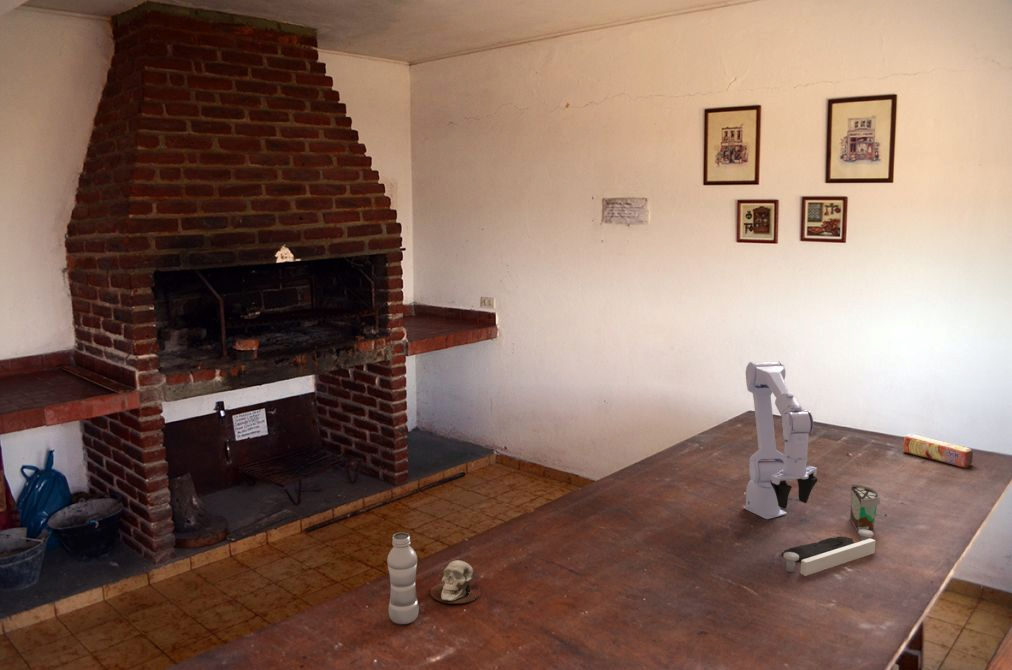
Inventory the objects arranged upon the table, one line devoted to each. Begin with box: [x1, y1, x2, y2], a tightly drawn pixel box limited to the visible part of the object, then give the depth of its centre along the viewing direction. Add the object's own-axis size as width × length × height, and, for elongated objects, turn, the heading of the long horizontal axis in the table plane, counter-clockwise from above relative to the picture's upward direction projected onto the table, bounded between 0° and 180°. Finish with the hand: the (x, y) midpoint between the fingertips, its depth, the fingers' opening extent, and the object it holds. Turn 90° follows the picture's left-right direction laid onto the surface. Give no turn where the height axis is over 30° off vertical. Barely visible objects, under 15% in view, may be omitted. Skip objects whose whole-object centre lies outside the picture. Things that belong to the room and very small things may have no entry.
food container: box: [849, 483, 881, 533], centre depth 218 cm, size 12×6×10 cm, turn 168°
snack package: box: [902, 433, 974, 469], centre depth 271 cm, size 21×7×7 cm, turn 37°
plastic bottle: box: [386, 532, 420, 625], centre depth 173 cm, size 6×7×20 cm
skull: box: [430, 559, 480, 605], centre depth 186 cm, size 12×10×10 cm
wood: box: [780, 536, 854, 563], centre depth 203 cm, size 22×7×3 cm, turn 111°
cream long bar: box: [782, 529, 877, 577], centre depth 199 cm, size 6×31×4 cm, turn 117°
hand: (792, 504), depth 210 cm, fingers open, 7 cm apart
